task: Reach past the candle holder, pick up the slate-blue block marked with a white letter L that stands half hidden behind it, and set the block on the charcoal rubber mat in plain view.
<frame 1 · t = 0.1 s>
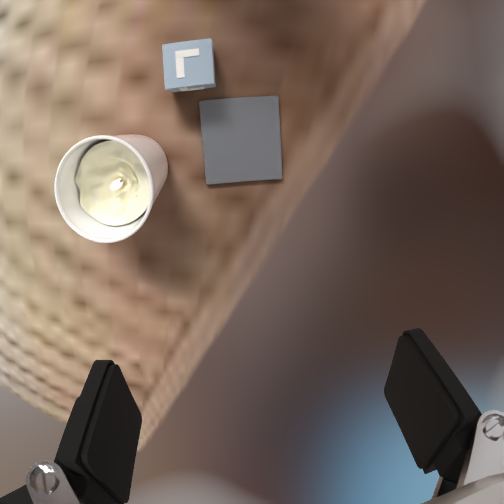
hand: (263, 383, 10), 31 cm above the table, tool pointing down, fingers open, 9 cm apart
letter block: (192, 69, 32), on the table
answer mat: (241, 139, 36), on the table
candle holder: (136, 167, 37), on the table
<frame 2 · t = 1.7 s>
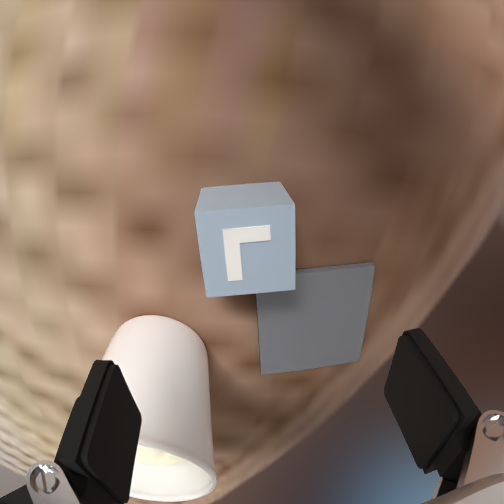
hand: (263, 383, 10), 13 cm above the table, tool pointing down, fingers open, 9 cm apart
letter block: (243, 220, 21), on the table
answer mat: (313, 321, 25), on the table
candle holder: (160, 350, 26), on the table
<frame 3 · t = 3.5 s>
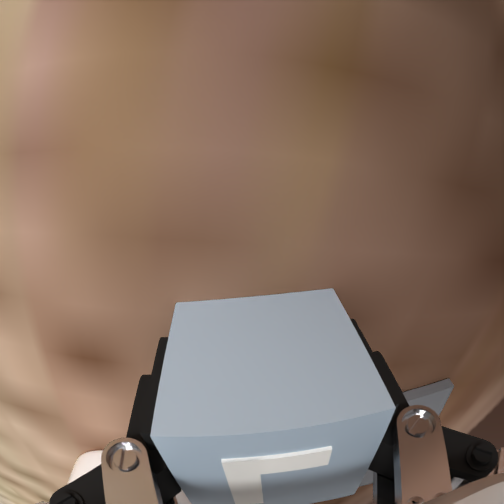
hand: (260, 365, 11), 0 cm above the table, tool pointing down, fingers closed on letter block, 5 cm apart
letter block: (259, 355, 11), on the table, touching gripper
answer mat: (354, 451, 15), on the table
candle holder: (139, 478, 15), on the table
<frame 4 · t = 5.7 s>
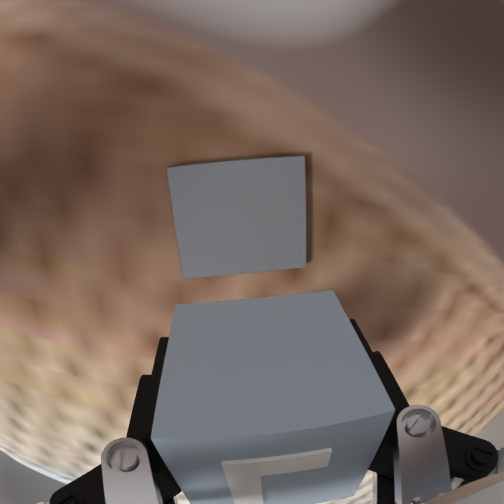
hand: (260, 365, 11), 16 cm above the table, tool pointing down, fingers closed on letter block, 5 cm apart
letter block: (259, 356, 11), point 15 cm above the table, touching gripper
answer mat: (240, 217, 25), on the table
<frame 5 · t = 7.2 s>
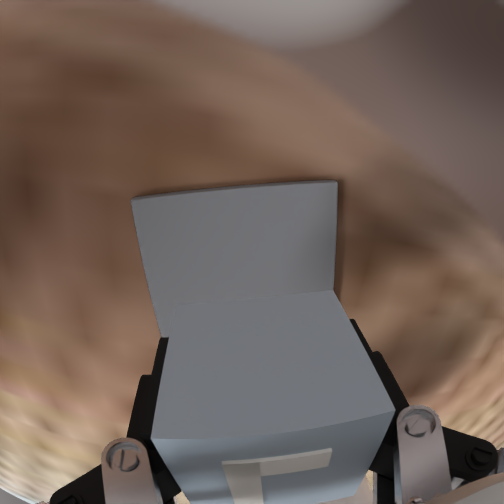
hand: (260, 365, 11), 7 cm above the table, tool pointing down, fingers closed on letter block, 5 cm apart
letter block: (259, 356, 11), point 7 cm above the table, touching gripper
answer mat: (240, 269, 17), on the table
candle holder: (280, 411, 23), on the table
when the fingers open (3 cm above the table, at t = 8.4 s): letter block drops 2 cm, resting on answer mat.
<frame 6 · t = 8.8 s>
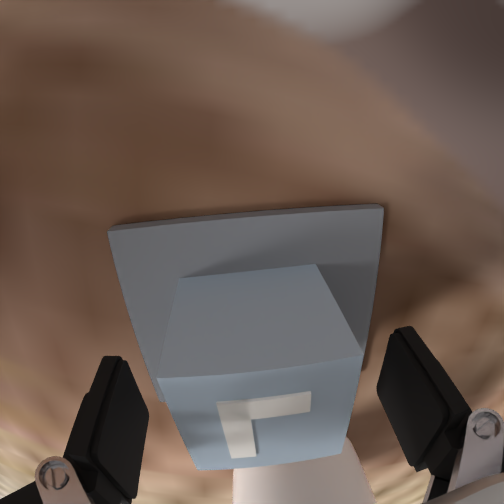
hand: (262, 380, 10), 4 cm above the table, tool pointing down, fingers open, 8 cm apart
letter block: (253, 326, 13), point 1 cm above the table, touching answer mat
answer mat: (253, 316, 13), on the table
candle holder: (293, 456, 19), on the table
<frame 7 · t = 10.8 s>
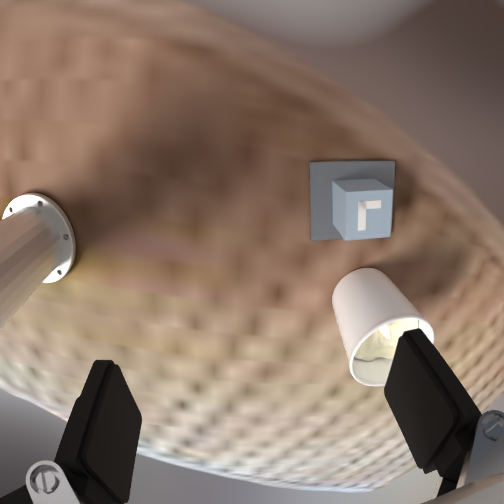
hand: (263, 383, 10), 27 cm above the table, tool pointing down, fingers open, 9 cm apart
letter block: (353, 201, 35), point 1 cm above the table, touching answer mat
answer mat: (352, 199, 35), on the table
candle holder: (360, 293, 41), on the table
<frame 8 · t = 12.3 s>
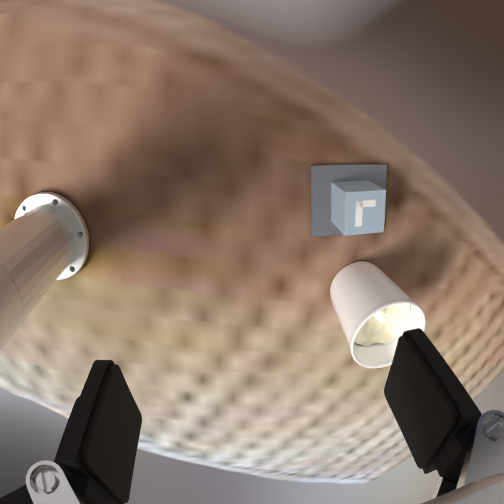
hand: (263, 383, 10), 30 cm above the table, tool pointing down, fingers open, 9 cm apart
letter block: (350, 200, 39), point 1 cm above the table, touching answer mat
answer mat: (348, 199, 39), on the table
candle holder: (356, 285, 45), on the table
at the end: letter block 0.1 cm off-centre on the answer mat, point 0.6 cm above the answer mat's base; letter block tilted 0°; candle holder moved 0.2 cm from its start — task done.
